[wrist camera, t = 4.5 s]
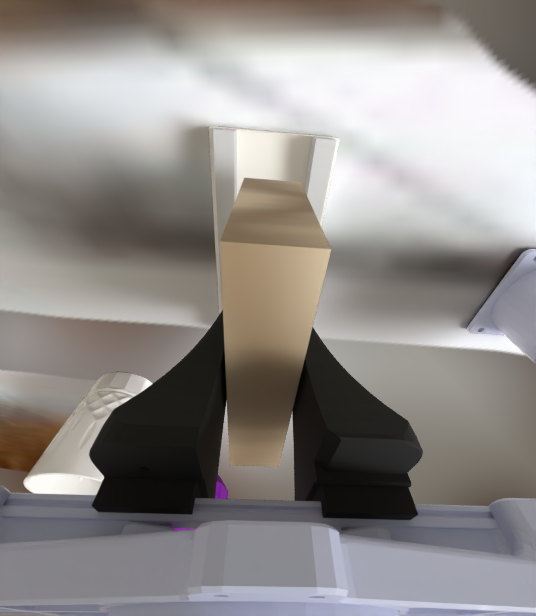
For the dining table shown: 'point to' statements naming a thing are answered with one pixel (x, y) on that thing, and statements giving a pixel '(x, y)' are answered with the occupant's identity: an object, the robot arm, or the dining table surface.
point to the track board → (266, 170)
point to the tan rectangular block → (268, 311)
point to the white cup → (82, 439)
